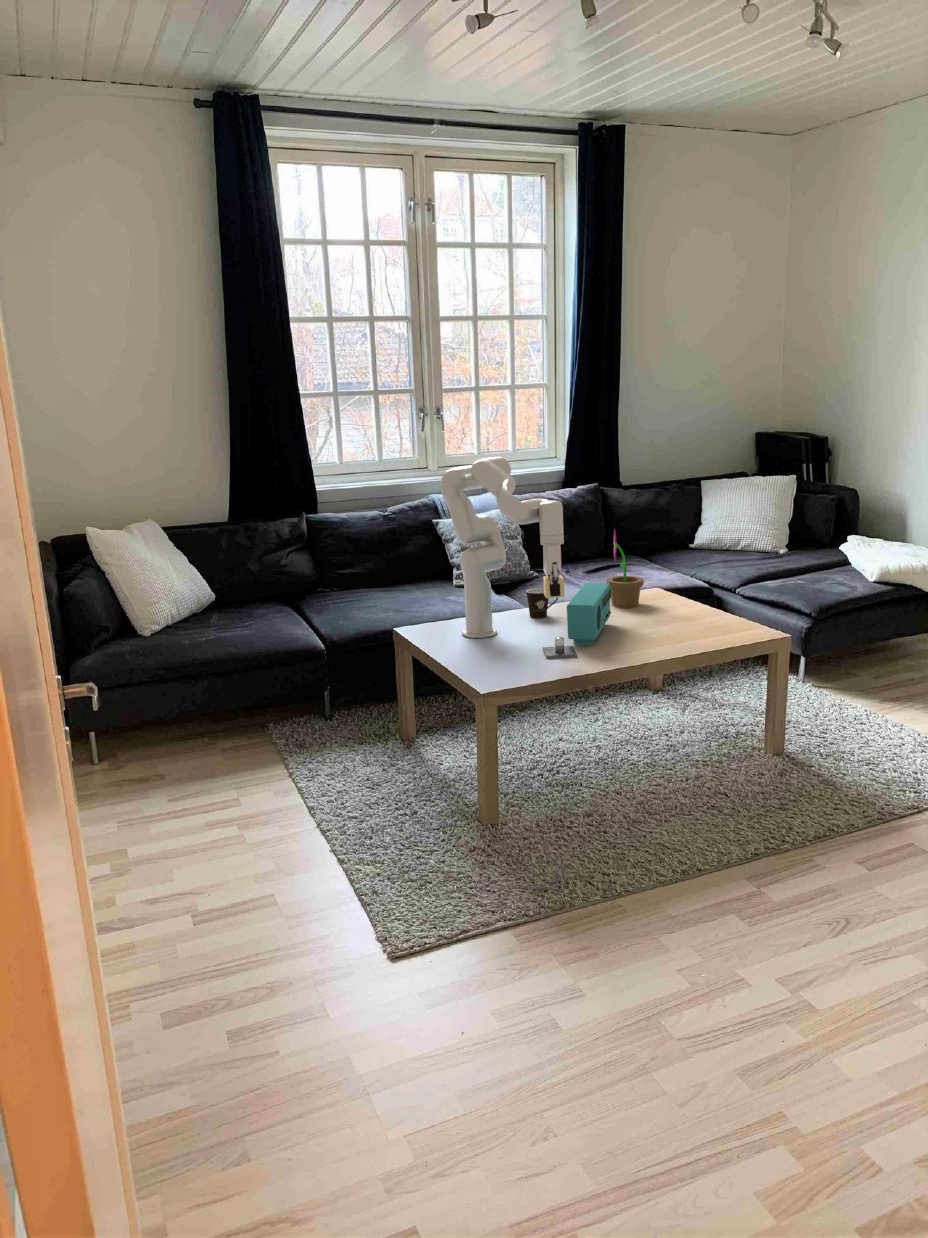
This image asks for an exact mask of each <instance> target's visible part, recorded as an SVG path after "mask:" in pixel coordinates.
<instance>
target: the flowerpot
mask: <svg viewBox="0 0 928 1238" xmlns="http://www.w3.org/2000/svg"><path fill="white" fill-rule="evenodd" d="M613 530H614V531H613V546H614V547H613V558H614V562H616V561H617V549H618V550H619V552H620V555H621V558H622V561H621V564H620V565H619V567H620V568H622V569H623V575H615V576H611V577H608V578H607V579H606V583H609V584H610V587H611V598H610V603H611V606H612V607H615V608H619V609H632V608H636V607H638V606H639V602H640V594H641V587H643V586H644V585H645V579H644V578H643V577H641V576H636V575H627V570H628V568H627V562H626V556H625V554H624V551H623V549H622V548H621V546H620V545H619V544H618V542H617V535H616V533H617V531H616V529H615V528H614V529H613Z"/></svg>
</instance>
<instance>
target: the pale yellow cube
mask: <svg viewBox="0 0 928 1238" xmlns="http://www.w3.org/2000/svg"><path fill="white" fill-rule="evenodd" d="M552 578H553V577H552ZM542 579H543V580H542V581H543V588H544V595H545V597H546V598H548V599H554V598H555V599H556V598H557V597H558V598H565V579H564V576H563V575H561V574H560V575H559V584H560V596H550V584H551V580H550V576H547V575H546V576H544V575H543V577H542Z"/></svg>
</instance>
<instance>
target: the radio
mask: <svg viewBox="0 0 928 1238" xmlns="http://www.w3.org/2000/svg"><path fill="white" fill-rule="evenodd" d="M611 613H612V611H611V587H610V584H609V583H607V582H585V583H584V584H583V585H582V586H581V587H580V589H579V590H578V591H577V593H576V594H575V595H574V596H573V597H572V598H571V600H569V602H568V604H567V605H566V618H567V619H566V620H567V621H566V622H567V623H566V624H567V638H568V640H573V643H574V644H573V645H581V646H589V647H590V646H591V647H592V646H593V643H594V641H595V640H597V638H598V636H599V635H600V633H601V632H602V630H603V629H604V627H605V626H606V624H607V622H608V620H609V618H610V617H611Z"/></svg>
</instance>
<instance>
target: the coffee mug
mask: <svg viewBox="0 0 928 1238" xmlns="http://www.w3.org/2000/svg"><path fill="white" fill-rule="evenodd" d="M525 592H526V598H527V605H528V612H529V617H530V618H532V619H544V618H546V617H548V610H549V608H551V607H552V606H553V605H555V604H556V602H557V601H558V599H559V597H557V598H555V600H554V601H553V602H552V603H550V604H549V598H546V597H545V595H544V587H534V588H529V589H527V590H526V591H525Z"/></svg>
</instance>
